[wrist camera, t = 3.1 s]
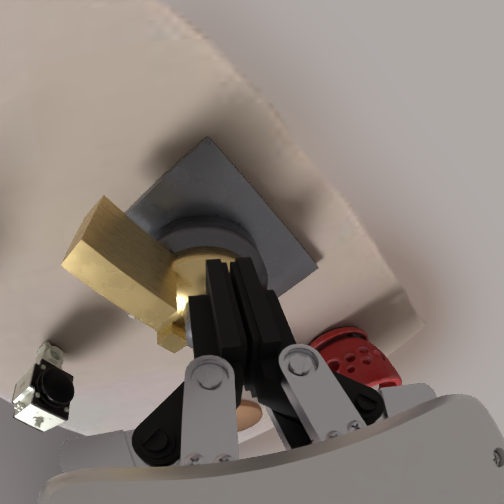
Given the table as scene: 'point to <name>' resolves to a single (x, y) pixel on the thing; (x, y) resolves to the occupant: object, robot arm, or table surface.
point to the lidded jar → (248, 411)
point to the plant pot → (356, 357)
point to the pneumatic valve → (44, 391)
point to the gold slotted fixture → (141, 271)
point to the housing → (220, 217)
